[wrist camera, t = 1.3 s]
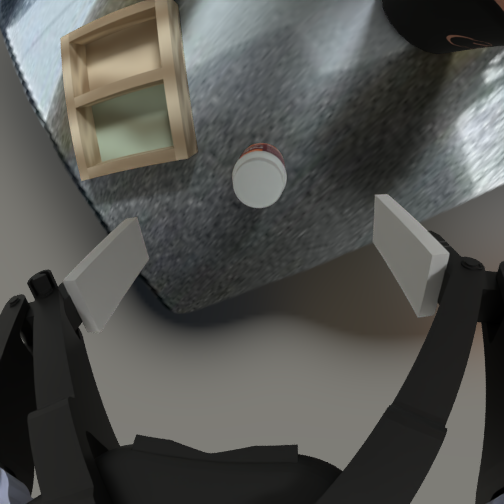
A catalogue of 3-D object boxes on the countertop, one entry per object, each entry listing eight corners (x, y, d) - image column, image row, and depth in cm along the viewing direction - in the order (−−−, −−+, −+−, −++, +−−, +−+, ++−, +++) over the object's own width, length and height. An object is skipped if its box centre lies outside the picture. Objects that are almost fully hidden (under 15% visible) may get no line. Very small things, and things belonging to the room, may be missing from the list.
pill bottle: (259, 133, 29) (255, 142, 21) (293, 163, 30) (301, 184, 22) (229, 165, 30) (215, 186, 23) (263, 194, 32) (260, 224, 24)
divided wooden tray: (79, 41, 23) (60, 37, 20) (178, 4, 22) (166, -7, 18) (99, 171, 31) (81, 180, 28) (198, 151, 30) (188, 158, 26)
